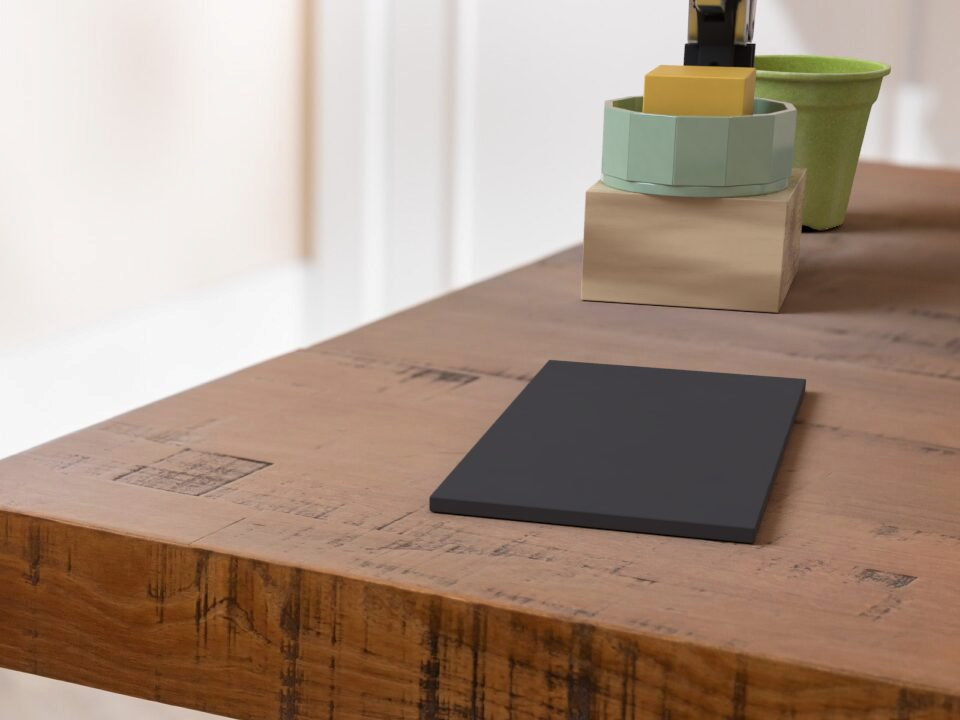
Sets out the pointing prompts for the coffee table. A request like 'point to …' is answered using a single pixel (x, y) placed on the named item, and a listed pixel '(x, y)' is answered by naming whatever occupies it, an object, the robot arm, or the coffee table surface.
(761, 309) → the block
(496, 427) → the mat
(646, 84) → the block
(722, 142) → the faceted mint tin
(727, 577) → the coffee table surface
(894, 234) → the coffee table surface
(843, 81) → the plant pot
